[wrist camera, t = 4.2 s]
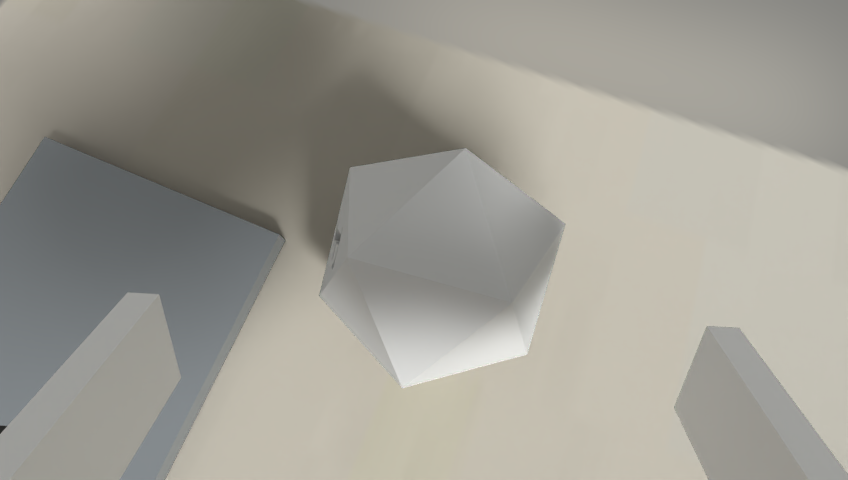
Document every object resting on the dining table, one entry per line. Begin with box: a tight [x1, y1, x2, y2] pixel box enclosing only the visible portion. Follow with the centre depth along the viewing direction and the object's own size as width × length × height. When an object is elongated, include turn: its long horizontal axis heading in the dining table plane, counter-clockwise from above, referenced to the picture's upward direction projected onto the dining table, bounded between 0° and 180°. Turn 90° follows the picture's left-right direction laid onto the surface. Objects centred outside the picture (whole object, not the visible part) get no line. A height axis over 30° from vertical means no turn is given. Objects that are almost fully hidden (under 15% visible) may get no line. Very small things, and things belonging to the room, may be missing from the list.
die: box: [319, 148, 565, 388], centre depth 20 cm, size 8×9×10 cm
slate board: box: [0, 137, 285, 480], centre depth 22 cm, size 12×12×1 cm
